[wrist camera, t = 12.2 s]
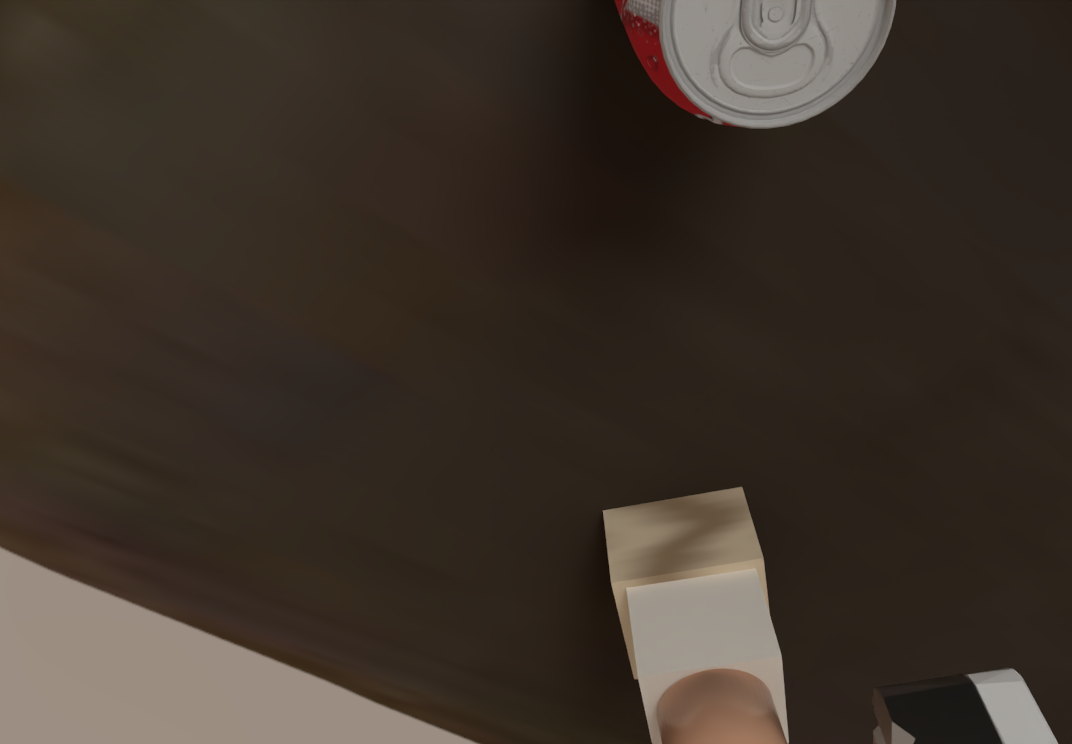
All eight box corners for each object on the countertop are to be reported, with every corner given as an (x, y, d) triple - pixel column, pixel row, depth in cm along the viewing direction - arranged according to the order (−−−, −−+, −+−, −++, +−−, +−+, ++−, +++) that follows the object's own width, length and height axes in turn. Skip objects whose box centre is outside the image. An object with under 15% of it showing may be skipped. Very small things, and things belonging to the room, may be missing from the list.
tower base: (741, 485, 47) (763, 558, 43) (753, 582, 51) (774, 657, 47) (602, 509, 48) (610, 582, 44) (624, 603, 52) (634, 679, 48)
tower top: (756, 568, 44) (781, 656, 40) (764, 653, 47) (788, 743, 43) (626, 588, 44) (637, 676, 40) (643, 671, 48) (655, 761, 43)
